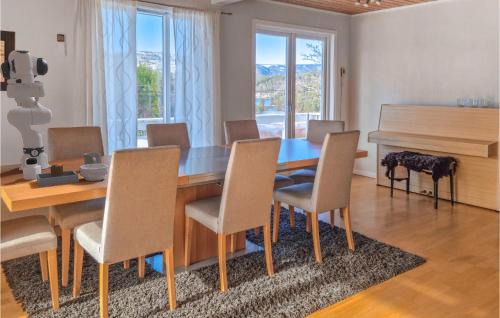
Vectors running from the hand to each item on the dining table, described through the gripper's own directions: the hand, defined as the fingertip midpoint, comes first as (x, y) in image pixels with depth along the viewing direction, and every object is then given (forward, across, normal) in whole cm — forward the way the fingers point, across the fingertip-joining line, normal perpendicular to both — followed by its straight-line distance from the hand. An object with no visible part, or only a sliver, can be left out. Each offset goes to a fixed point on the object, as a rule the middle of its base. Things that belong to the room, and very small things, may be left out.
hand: (27, 105), depth 235 cm
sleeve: (+42, -2, +17) cm, 45 cm away
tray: (+42, -2, +17) cm, 46 cm away
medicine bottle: (+42, -1, -3) cm, 42 cm away
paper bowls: (+42, -17, +30) cm, 54 cm away
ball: (+33, -3, +18) cm, 38 cm away
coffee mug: (+42, -36, +7) cm, 55 cm away
